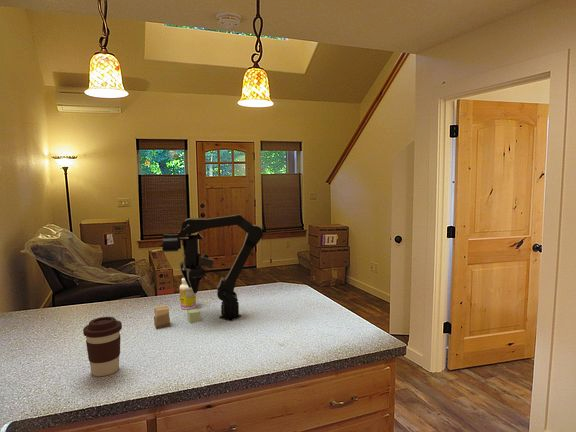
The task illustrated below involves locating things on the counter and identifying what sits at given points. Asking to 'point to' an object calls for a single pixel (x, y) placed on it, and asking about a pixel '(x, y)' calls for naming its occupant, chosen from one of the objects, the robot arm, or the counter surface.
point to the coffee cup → (103, 345)
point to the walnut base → (161, 323)
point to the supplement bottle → (187, 296)
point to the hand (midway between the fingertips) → (192, 290)
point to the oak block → (161, 312)
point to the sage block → (193, 315)
